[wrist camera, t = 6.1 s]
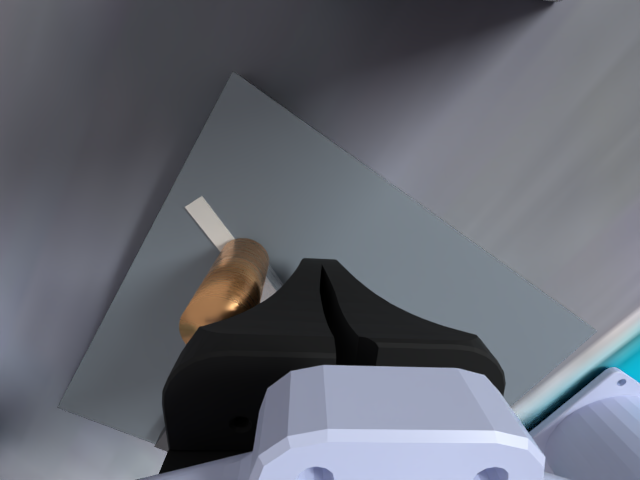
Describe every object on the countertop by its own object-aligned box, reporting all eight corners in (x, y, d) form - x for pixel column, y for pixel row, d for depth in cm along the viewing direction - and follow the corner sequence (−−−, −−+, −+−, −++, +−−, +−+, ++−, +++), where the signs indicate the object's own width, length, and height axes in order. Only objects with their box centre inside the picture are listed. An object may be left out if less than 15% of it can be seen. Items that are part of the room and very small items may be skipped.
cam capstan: (431, 394, 16) (476, 492, 12) (296, 452, 17) (293, 560, 13) (318, 192, 12) (326, 233, 8) (149, 285, 13) (78, 364, 9)
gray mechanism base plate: (577, 316, 17) (632, 357, 14) (370, 504, 22) (379, 561, 19) (239, 75, 12) (219, 63, 9) (73, 388, 17) (28, 442, 14)
